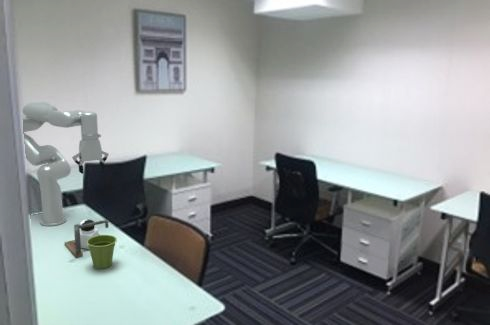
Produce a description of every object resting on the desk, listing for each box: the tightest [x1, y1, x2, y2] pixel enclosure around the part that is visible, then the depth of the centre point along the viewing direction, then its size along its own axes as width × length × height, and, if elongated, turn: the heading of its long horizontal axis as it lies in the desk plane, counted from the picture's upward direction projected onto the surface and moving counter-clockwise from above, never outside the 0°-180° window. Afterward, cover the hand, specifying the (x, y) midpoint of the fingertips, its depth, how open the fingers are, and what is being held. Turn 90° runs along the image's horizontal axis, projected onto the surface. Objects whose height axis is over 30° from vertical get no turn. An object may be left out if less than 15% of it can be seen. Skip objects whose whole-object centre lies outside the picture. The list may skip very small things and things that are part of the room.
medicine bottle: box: [79, 219, 99, 249], centre depth 183 cm, size 7×7×12 cm
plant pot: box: [87, 234, 118, 270], centre depth 167 cm, size 12×12×11 cm
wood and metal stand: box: [63, 219, 109, 259], centre depth 183 cm, size 16×16×14 cm
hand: (91, 171), depth 198 cm, fingers open, 9 cm apart
